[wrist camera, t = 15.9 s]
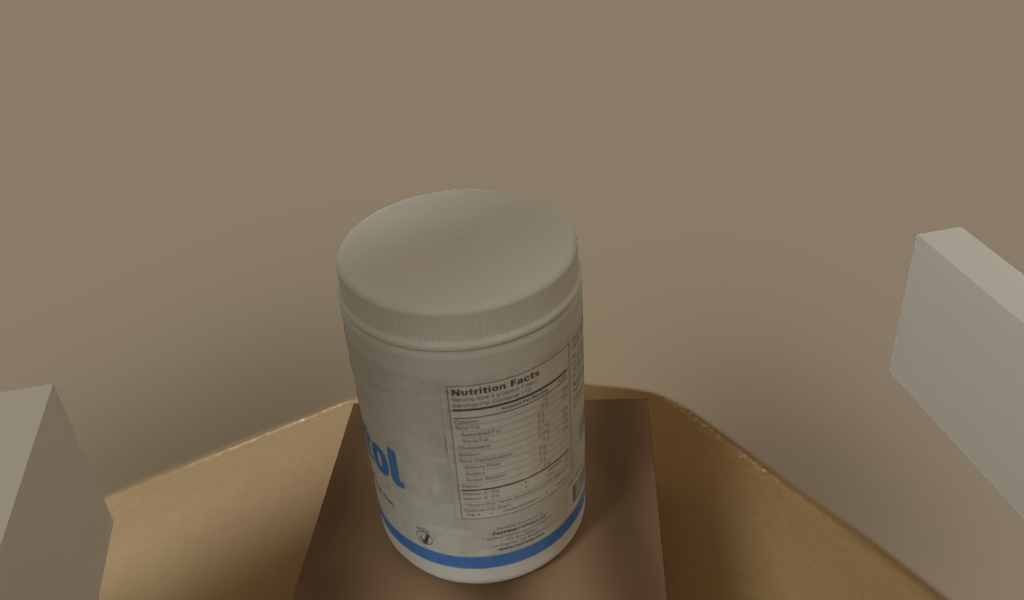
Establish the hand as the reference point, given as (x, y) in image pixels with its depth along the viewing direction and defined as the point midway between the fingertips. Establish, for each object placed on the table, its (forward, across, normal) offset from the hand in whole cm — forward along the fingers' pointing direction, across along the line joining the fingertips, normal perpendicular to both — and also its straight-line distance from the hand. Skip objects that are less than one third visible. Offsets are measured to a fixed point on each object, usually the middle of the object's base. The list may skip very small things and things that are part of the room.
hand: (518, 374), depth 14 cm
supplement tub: (+19, +1, -24) cm, 31 cm away
